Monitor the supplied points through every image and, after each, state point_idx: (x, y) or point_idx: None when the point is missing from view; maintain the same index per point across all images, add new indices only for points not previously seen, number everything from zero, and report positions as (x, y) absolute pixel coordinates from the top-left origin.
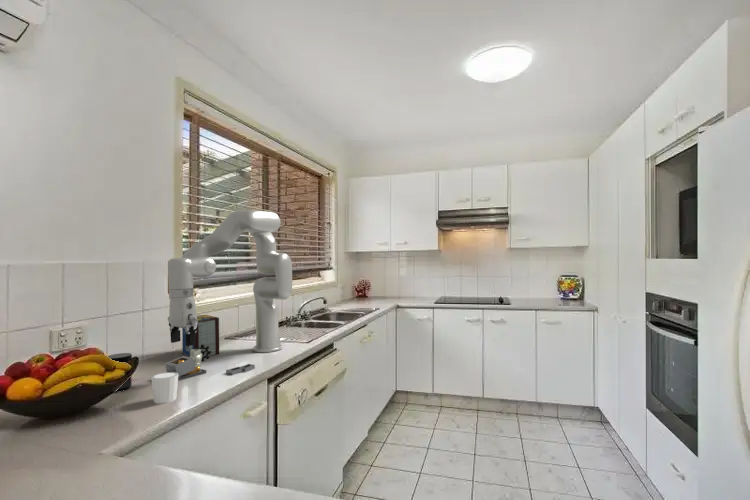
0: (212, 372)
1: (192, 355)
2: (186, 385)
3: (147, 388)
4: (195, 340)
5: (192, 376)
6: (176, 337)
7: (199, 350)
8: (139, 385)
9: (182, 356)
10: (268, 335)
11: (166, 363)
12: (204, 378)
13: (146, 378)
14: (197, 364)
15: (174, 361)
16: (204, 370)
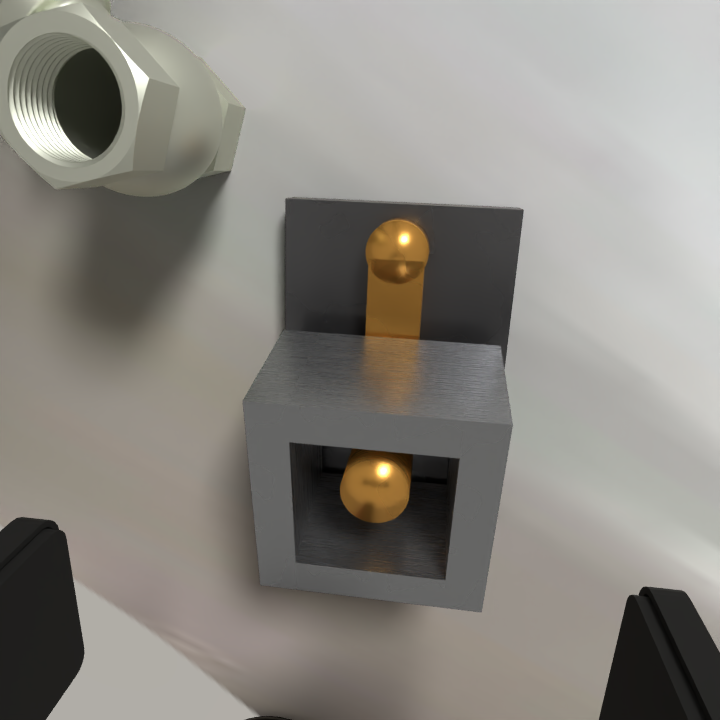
0: (559, 146)
1: (138, 177)
2: (687, 545)
3: (445, 697)
4: (716, 658)
5: None
6: (15, 661)
7: (141, 71)
8: (314, 678)
9: (255, 418)
10: None
11: (281, 585)
12: (670, 339)
13: (169, 562)
14: (223, 128)
15: (294, 515)
16: (508, 224)
